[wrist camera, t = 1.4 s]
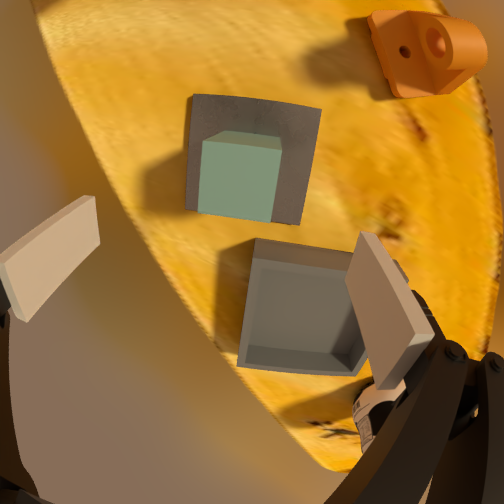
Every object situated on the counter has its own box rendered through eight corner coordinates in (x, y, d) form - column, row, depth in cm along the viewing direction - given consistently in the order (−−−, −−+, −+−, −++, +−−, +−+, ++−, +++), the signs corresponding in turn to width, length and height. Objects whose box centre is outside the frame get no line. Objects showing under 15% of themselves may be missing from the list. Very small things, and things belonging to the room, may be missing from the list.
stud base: (195, 94, 27) (178, 91, 22) (320, 109, 27) (330, 109, 22) (187, 206, 34) (171, 225, 29) (298, 222, 34) (303, 244, 29)
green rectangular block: (225, 130, 28) (202, 140, 20) (279, 137, 28) (282, 150, 20) (219, 181, 31) (197, 212, 23) (271, 188, 31) (270, 223, 23)
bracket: (362, 17, 21) (402, -18, 10) (412, 16, 19) (464, -9, 9) (390, 99, 26) (445, 100, 15) (438, 93, 24) (499, 98, 14)
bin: (255, 237, 36) (252, 257, 31) (396, 260, 36) (408, 280, 31) (239, 343, 46) (236, 366, 41) (351, 354, 45) (355, 376, 41)
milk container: (424, 388, 52) (442, 449, 36) (361, 415, 57) (370, 476, 42) (416, 354, 45) (442, 430, 30) (339, 387, 51) (348, 464, 35)
